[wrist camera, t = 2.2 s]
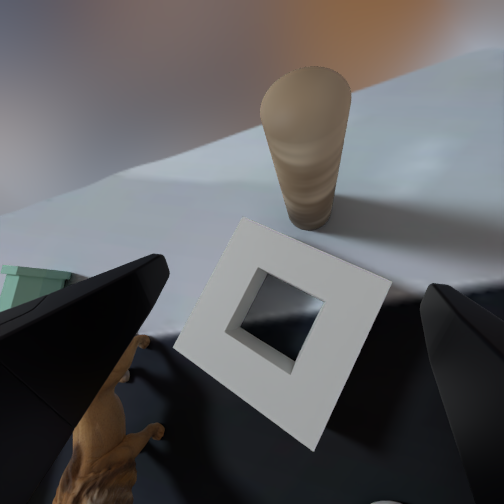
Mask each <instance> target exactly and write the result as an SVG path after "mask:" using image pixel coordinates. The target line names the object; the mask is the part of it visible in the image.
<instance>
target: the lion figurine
mask: <svg viewBox="0 0 504 504" xmlns="http://www.w3.org/2000/svg"><path fill="white" fill-rule="evenodd" d="M149 343H150V339H149V337H148V336H147V335H138V336H135V337H134V338H133V340H132V341H131V343H130V344H129V346H128V347H127V349H126V351H125V352H124V354H123V355H122V357H121V358H120V360H119V361H118V363H117V364H116V366H115V368H114V369H113V371H112V372H111V374H110V375H109V377H108V378H107V380H106V381H105V383H104V385H103V386H102V388H101V389H100V391H99V392H98V394H97V395H96V397H95V398H94V400H93V402H92V403H91V405H90V406H89V408H88V409H87V411H86V412H85V414H84V415H83V417H82V419H81V420H80V422H79V423H78V425H77V426H76V428H74V431H73V454H72V458H71V460H70V462H69V464H68V465H67V467H66V469H65V470H64V472H63V474H62V477H61V479H60V484H59V486H58V488H57V492H56V496H55V498H54V500H53V504H133V495H132V491H131V489H132V486H133V485H134V484H135V482H136V478H137V475H136V473H137V471H136V468H135V466H136V463H135V457H136V456H137V455H138V454H139V453H140V451H141V450H142V449H143V448H144V446H145V445H146V444H147V442H148V440H149V439H150V437H151V436H152V438H153V439H155V440H160V439H161V437H162V436H163V435H164V431H165V428H164V427H163V426H162V425H161V424H160V423H154V424H149V425H148V426H147V427H146V428H145V429H144V430H142V431H141V432H138V433H131V434H128V435H125V433H126V426H125V414H124V410H123V406H122V403H121V401H120V399H119V397H118V396H117V395H116V394H115V393H114V388H115V386H116V385H117V383H118V382H119V381H120V382H122V383H124V382H127V381H128V380H129V377H130V373H129V370H128V369H129V367H130V365H131V363H132V360H133V358H134V354H135V351H136V348H137V346H138V345H139V347H140V348H143V349H145V348H146V347H147V346H148V345H149Z"/></svg>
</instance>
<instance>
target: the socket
mask: <svg viewBox="0 0 504 504" xmlns="http://www.w3.org/2000/svg"><path fill="white" fill-rule="evenodd" d="M267 274H270V275H272V276H274V277H276V278H278V279H280V280H281V281H283V282H285V283H287V284H289V285H291V286H293V287H295V288H297V289H299V290H301V291H303V292H305V293H307V294H309V295H311V296H313V297H315V298H317V299H319V300H321V301H323V302H324V303H323V305H322V307H321V309H320V311H319V313H318V315H317V317H316V320H315V322H314V324H313V326H312V328H311V330H310V332H309V334H308V336H307V338H306V340H305V342H304V344H303V346H302V348H301V350H300V352H299V355H298V357H297V359H296V361H293V360H292V359H290V358H289V357H287V356H285V355H284V354H282V353H281V352H279V351H277V350H276V349H274V348H273V347H271V346H269V345H268V344H266V343H265V342H263V341H261V340H260V339H258V338H257V337H255V336H253V335H252V334H250V333H248V332H247V331H245V330H244V329H242V328H240V326H241V324H242V323H243V321H244V319H245V317H246V315H247V313H248V311H249V309H250V307H251V305H252V303H253V301H254V299H255V297H256V295H257V293H258V291H259V289H260V287H261V285H262V283H263V282H264V280H265V278H266V276H267ZM391 284H392V281H389V280H387V279H385V278H383V277H380V276H378V275H376V274H373V273H371V272H369V271H367V270H364V269H362V268H360V267H357V266H355V265H353V264H351V263H348V262H346V261H344V260H341V259H339V258H337V257H335V256H332V255H330V254H328V253H325V252H323V251H321V250H319V249H316V248H314V247H312V246H309V245H307V244H305V243H303V242H300V241H298V240H296V239H293V238H291V237H289V236H287V235H284V234H282V233H280V232H277V231H275V230H273V229H271V228H268V227H266V226H264V225H261V224H259V223H257V222H255V221H252V220H250V219H248V218H245V217H242V219H241V220H240V222H239V224H238V226H237V228H236V230H235V232H234V234H233V236H232V237H231V239H230V241H229V243H228V245H227V247H226V249H225V251H224V252H223V254H222V256H221V258H220V260H219V262H218V264H217V266H216V267H215V269H214V271H213V273H212V275H211V277H210V279H209V281H208V282H207V284H206V286H205V288H204V290H203V292H202V294H201V296H200V297H199V299H198V301H197V303H196V305H195V307H194V309H193V311H192V312H191V314H190V316H189V318H188V320H187V322H186V324H185V326H184V327H183V329H182V331H181V333H180V335H179V337H178V339H177V341H176V343H175V344H174V346H173V348H174V349H176V350H177V351H178V352H180V353H181V354H182V355H184V356H185V357H186V358H188V359H189V360H191V361H192V362H193V363H195V364H196V365H197V366H199V367H200V368H201V369H203V370H204V371H205V372H207V373H208V374H209V375H211V376H212V377H213V378H215V379H216V380H217V381H219V382H220V383H222V384H223V385H224V386H226V387H227V388H228V389H230V390H231V391H232V392H234V393H235V394H236V395H238V396H239V397H240V398H242V399H243V400H244V401H246V402H247V403H248V404H250V405H251V406H253V407H254V408H255V409H257V410H258V411H259V412H261V413H262V414H263V415H265V416H266V417H267V418H269V419H270V420H271V421H273V422H274V423H275V424H277V425H278V426H279V427H281V428H282V429H284V430H285V431H286V432H288V433H289V434H290V435H292V436H293V437H294V438H296V439H297V440H298V441H300V442H301V443H302V444H304V445H305V446H306V447H308V448H309V449H310V450H312V451H313V452H314V450H315V448H316V446H317V443H318V441H319V439H320V437H321V435H322V433H323V431H324V428H325V426H326V424H327V422H328V420H329V418H330V415H331V413H332V411H333V409H334V407H335V405H336V403H337V400H338V398H339V396H340V394H341V392H342V390H343V387H344V385H345V383H346V381H347V379H348V377H349V374H350V372H351V370H352V368H353V366H354V364H355V362H356V359H357V357H358V355H359V353H360V351H361V349H362V346H363V344H364V342H365V340H366V338H367V336H368V334H369V331H370V329H371V327H372V325H373V323H374V321H375V318H376V316H377V314H378V312H379V310H380V308H381V306H382V303H383V301H384V299H385V297H386V295H387V293H388V290H389V288H390V286H391Z"/></svg>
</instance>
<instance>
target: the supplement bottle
mask: <svg viewBox="0 0 504 504" xmlns="http://www.w3.org/2000/svg"><path fill="white" fill-rule="evenodd" d="M371 504H402V503H398V502H394V501H378V502H374V503H371Z"/></svg>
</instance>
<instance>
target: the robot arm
mask: <svg viewBox="0 0 504 504" xmlns="http://www.w3.org/2000/svg"><path fill="white" fill-rule="evenodd" d="M169 274H170V272H169V268H168V265H167V262H166V259H165V257H164V256H163V255H161V254H151V255H148V256H145V257H143V258H140V259H138V260H135V261H132V262H130V263H127V264H125V265H122V266H120V267H117V268H114V269H112V270H109V271H107V272H104V273H101V274H99V275H96V276H94V277H91V278H89V279H86V280H83V281H81V282H78V283H76V284H73V285H70V286H68V287H65V288H63V289H60V290H57V291H55V292H52V293H50V294H49V295H48V294H47V295H44V296H42V297H39V298H37V299H34V300H31V301H29V302H26V303H23V304H21V305H18V306H15V307H13V308H10V309H7V310H4V311H1V312H0V504H27V502H28V501H29V499H30V498H31V496H32V495H33V493H34V492H35V490H36V489H37V487H38V485H39V484H40V482H41V481H42V479H43V478H44V476H45V475H46V473H47V471H48V470H49V468H50V467H51V465H52V464H53V462H54V461H55V459H56V458H57V456H58V454H59V453H60V451H61V450H62V448H63V447H64V445H65V444H66V442H67V441H68V439H69V437H70V436H71V434H72V433H73V431H74V428H76V426H77V425H78V423H79V422H80V420H81V419H82V417H83V415H84V414H85V412H86V411H87V409H88V408H89V406H90V405H91V403H92V402H93V400H94V398H95V397H96V395H97V394H98V392H99V391H100V389H101V388H102V386H103V385H104V383H105V381H106V380H107V378H108V377H109V375H110V374H111V372H112V371H113V369H114V368H115V366H116V364H117V363H118V361H119V360H120V358H121V357H122V355H123V354H124V352H125V351H126V349H127V347H128V346H129V344H130V343H131V341H132V340H133V338H134V337H135V335H136V334H137V332H138V330H139V329H140V327H141V326H142V324H143V323H144V321H145V320H146V318H147V317H148V315H149V313H150V312H151V310H152V308H153V307H154V305H155V303H156V301H157V299H158V297H159V295H160V293H161V291H162V289H163V287H164V285H165V284H166V282H167V280H168V278H169ZM420 313H421V318H422V324H423V329H424V334H425V340H426V345H427V350H428V355H429V359H430V363H431V366H432V370H433V373H434V376H435V379H436V382H437V385H438V388H439V391H440V395H441V398H442V401H443V404H444V407H445V410H446V413H447V416H448V419H449V422H450V426H451V429H452V432H453V435H454V438H455V441H456V444H457V447H458V450H459V453H460V457H461V460H462V463H463V466H464V469H465V472H466V475H467V478H468V481H469V484H470V488H471V491H472V494H473V497H474V500H475V503H476V504H504V321H502V320H501V319H499V318H498V317H496V316H495V315H493V314H492V313H490V312H489V311H487V310H486V309H484V308H483V307H481V306H480V305H478V304H477V303H475V302H474V301H472V300H471V299H469V298H468V297H466V296H465V295H463V294H462V293H460V292H458V291H457V290H455V289H454V288H452V287H451V286H449V285H445V284H436V283H432V284H430V285H429V286H428V288H427V290H426V293H425V295H424V297H423V300H422V302H421V305H420Z"/></svg>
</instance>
